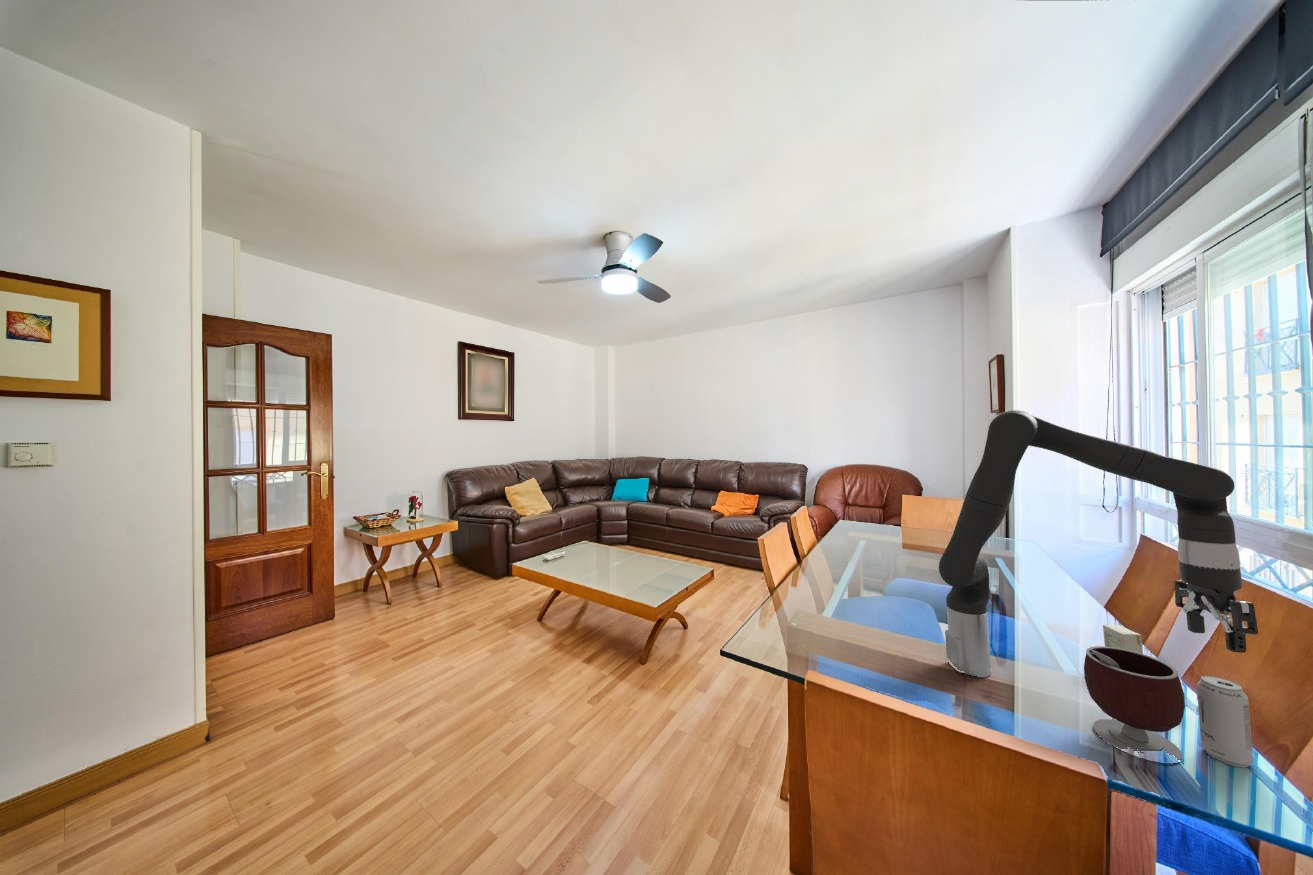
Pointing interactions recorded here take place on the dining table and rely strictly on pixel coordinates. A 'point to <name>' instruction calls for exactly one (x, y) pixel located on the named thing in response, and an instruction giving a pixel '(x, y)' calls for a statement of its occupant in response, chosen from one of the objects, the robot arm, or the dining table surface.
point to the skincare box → (1122, 638)
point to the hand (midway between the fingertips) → (1215, 641)
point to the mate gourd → (1134, 698)
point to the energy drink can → (1224, 721)
